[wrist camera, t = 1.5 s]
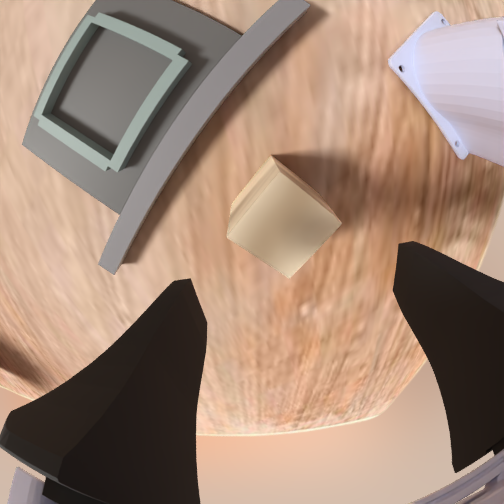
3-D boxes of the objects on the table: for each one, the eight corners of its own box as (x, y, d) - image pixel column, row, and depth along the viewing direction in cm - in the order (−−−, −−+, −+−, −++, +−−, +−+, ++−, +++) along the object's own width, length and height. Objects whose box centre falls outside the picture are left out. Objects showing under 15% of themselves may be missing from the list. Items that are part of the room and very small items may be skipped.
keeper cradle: (241, 37, 12) (241, 30, 11) (121, 212, 17) (113, 221, 16) (114, -18, 9) (105, -25, 7) (24, 143, 14) (12, 147, 13)
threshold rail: (305, 12, 11) (310, 5, 10) (121, 264, 19) (114, 275, 18) (285, 0, 11) (289, -9, 9) (106, 254, 19) (98, 264, 18)
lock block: (318, 193, 17) (342, 223, 13) (279, 236, 19) (289, 278, 14) (270, 154, 16) (279, 171, 11) (231, 203, 17) (226, 237, 13)
